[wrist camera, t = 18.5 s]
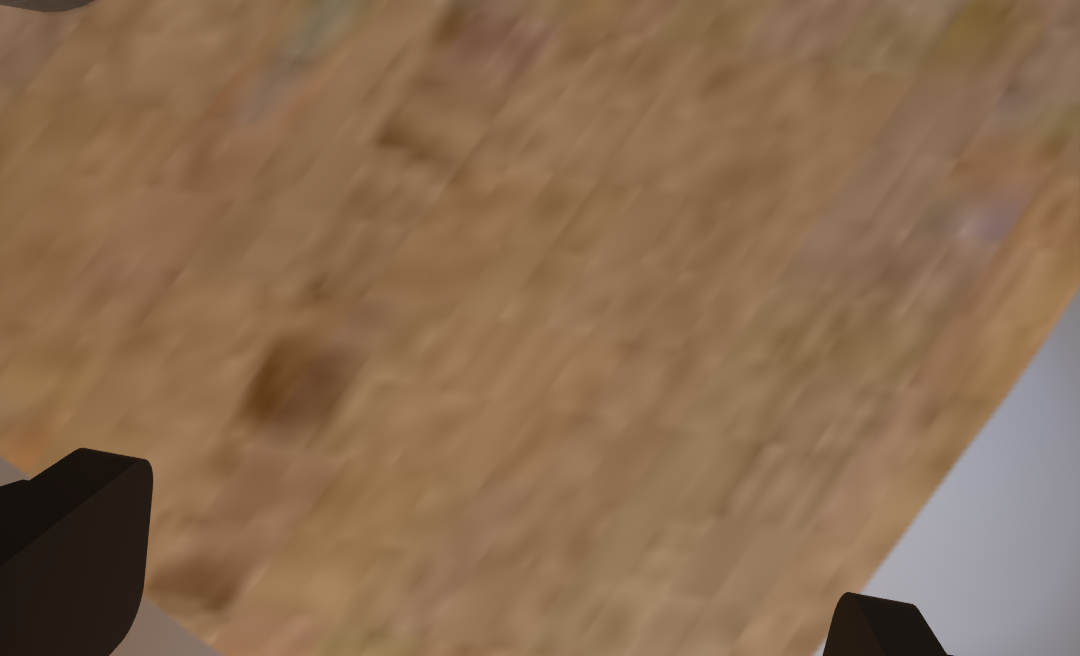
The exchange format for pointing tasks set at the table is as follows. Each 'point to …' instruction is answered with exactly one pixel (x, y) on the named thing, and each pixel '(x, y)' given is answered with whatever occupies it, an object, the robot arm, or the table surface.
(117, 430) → the table surface
